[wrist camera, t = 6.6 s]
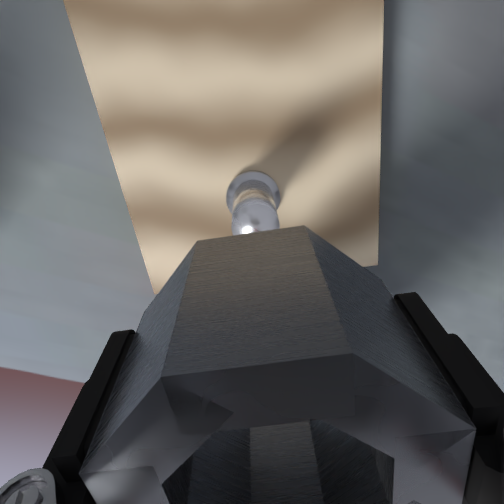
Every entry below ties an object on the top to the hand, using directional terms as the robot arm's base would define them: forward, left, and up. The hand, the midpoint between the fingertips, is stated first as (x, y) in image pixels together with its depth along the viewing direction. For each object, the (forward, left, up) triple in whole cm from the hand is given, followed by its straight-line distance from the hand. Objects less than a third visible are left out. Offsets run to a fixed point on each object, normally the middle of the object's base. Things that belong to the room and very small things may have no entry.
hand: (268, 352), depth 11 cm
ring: (0, 0, -1) cm, 1 cm away
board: (-4, 0, -18) cm, 19 cm away
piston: (+1, 0, -17) cm, 17 cm away
